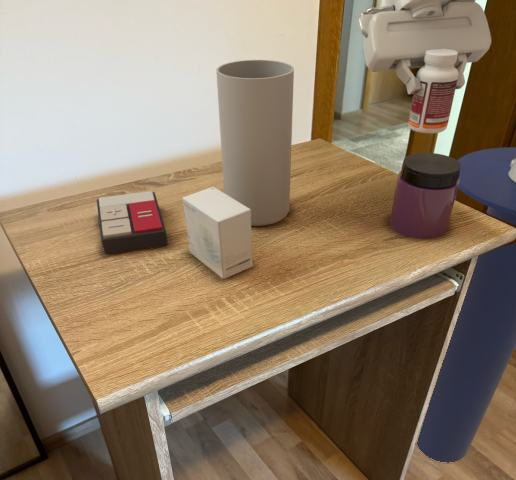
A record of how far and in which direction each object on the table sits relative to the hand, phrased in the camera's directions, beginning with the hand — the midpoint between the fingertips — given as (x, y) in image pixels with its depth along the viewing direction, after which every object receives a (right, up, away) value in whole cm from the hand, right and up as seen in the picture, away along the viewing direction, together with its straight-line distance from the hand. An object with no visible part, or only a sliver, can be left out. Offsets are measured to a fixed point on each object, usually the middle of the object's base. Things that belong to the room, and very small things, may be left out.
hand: (437, 89), depth 76 cm
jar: (+2, -17, +15) cm, 23 cm away
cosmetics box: (-34, -26, +7) cm, 43 cm away
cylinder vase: (-28, -14, +20) cm, 37 cm away
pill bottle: (0, -4, +5) cm, 6 cm away
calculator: (-51, -19, +15) cm, 56 cm away
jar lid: (+2, -9, +8) cm, 12 cm away
